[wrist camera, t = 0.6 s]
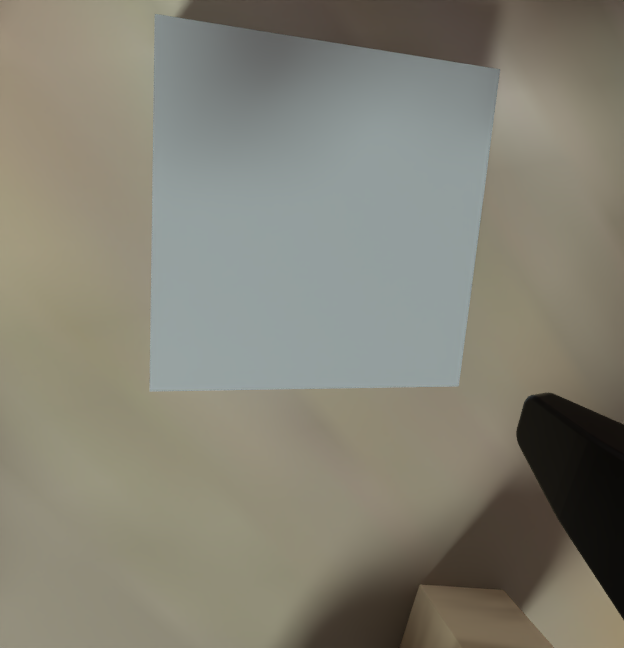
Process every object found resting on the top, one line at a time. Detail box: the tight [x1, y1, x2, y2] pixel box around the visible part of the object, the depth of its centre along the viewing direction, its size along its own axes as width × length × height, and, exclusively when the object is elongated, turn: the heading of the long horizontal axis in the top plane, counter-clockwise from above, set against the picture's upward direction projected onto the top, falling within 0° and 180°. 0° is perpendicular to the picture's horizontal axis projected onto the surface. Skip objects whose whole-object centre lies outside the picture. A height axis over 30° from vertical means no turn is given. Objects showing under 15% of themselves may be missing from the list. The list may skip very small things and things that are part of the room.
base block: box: [150, 14, 500, 391], centre depth 20 cm, size 11×11×4 cm
